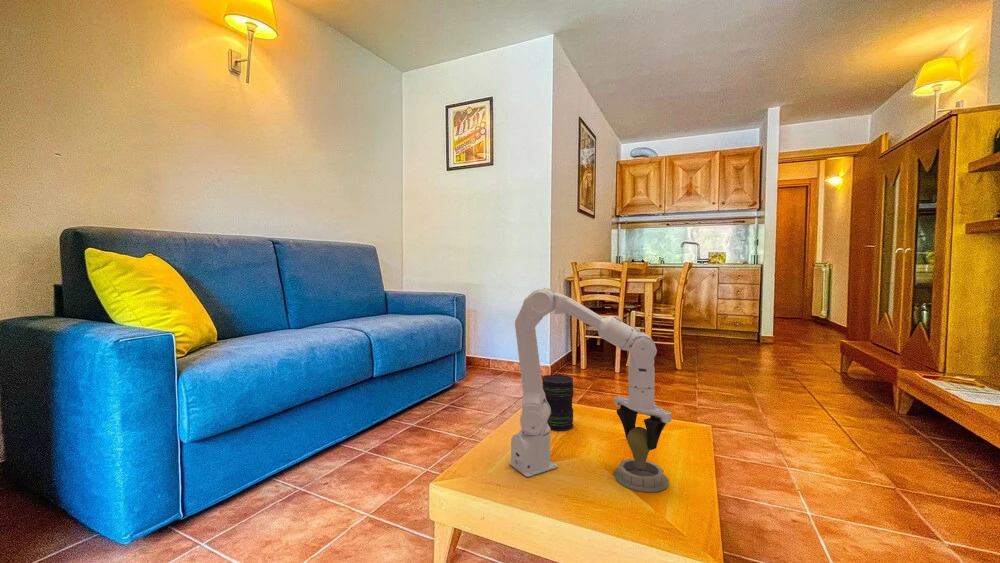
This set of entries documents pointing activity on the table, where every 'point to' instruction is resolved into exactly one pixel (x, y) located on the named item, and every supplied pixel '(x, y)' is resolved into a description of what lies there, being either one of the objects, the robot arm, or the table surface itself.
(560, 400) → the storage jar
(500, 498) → the table surface
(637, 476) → the bulb holder
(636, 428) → the light bulb
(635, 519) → the table surface
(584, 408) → the table surface
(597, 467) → the table surface
